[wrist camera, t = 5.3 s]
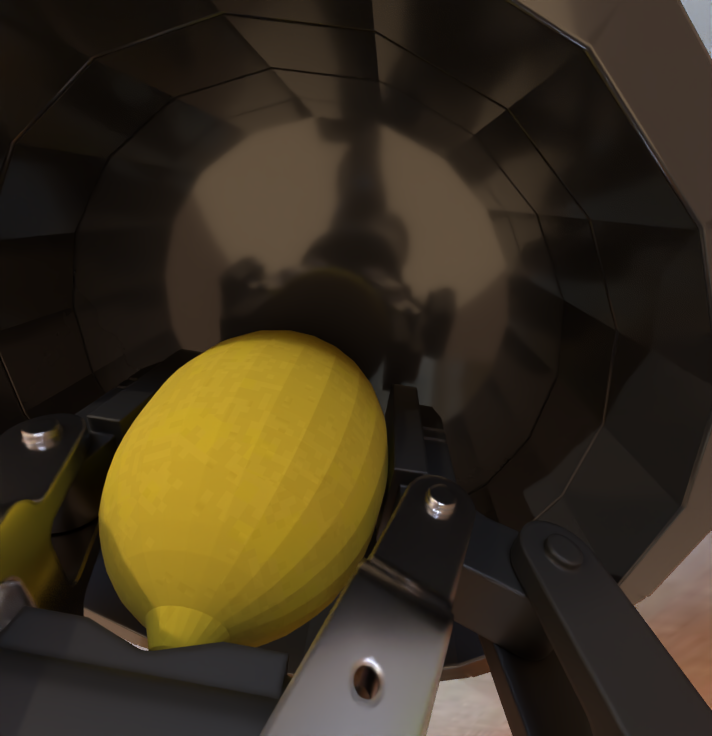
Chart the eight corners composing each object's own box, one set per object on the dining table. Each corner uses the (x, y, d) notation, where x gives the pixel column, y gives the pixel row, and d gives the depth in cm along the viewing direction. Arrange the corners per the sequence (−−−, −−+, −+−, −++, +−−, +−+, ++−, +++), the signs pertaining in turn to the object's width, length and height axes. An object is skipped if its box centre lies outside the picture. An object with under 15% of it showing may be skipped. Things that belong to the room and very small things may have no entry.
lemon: (212, 296, 10) (-172, 505, 3) (389, 292, 10) (387, 536, 3) (246, 436, 13) (69, 728, 6) (388, 440, 12) (387, 768, 5)
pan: (241, -231, 6) (-346, -1935, 1) (696, 371, 10) (962, 521, 6) (-1, 367, 13) (-237, 468, 8) (334, 580, 17) (312, 730, 12)
